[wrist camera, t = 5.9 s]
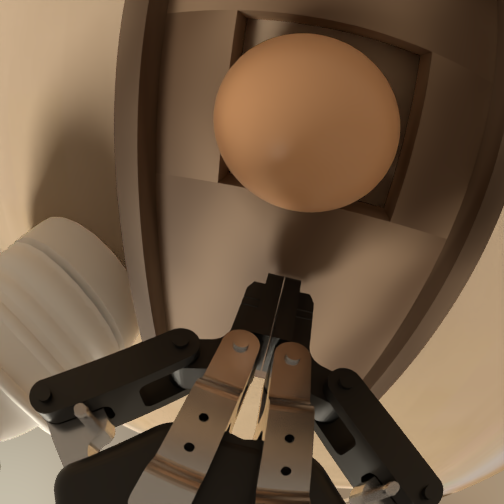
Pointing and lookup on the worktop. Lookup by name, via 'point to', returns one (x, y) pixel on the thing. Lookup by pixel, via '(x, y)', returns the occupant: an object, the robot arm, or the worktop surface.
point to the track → (308, 223)
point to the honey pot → (57, 313)
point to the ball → (306, 122)
